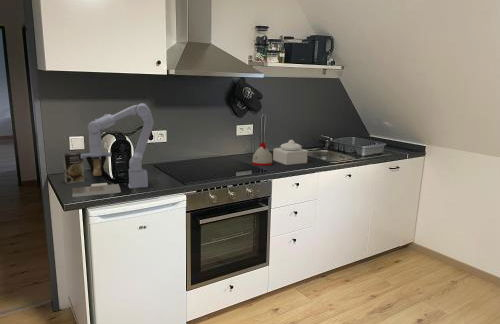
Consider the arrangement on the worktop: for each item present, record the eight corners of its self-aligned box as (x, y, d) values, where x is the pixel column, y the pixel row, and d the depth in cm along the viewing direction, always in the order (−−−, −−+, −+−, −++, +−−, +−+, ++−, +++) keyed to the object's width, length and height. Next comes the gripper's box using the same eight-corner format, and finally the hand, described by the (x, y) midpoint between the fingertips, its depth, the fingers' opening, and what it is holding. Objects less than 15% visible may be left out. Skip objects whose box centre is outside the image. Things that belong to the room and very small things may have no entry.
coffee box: (67, 184, 207) (64, 155, 204) (64, 182, 212) (62, 153, 209) (85, 182, 212) (82, 153, 209) (82, 179, 217) (80, 151, 214)
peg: (101, 173, 202) (100, 158, 200) (101, 175, 198) (100, 160, 197) (93, 174, 200) (92, 159, 199) (93, 176, 197) (92, 160, 195)
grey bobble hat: (257, 166, 257) (257, 144, 254) (249, 162, 270) (249, 141, 267) (275, 165, 263) (276, 143, 260) (266, 161, 275) (267, 140, 272)
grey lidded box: (273, 160, 278) (273, 138, 275) (294, 158, 286) (294, 137, 283) (286, 165, 263) (287, 142, 260) (307, 163, 271) (309, 140, 268)
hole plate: (118, 187, 204) (118, 183, 203) (120, 193, 194) (120, 189, 193) (72, 191, 195) (72, 187, 194) (72, 198, 185) (72, 193, 185)
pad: (107, 183, 210) (107, 182, 210) (108, 187, 203) (108, 186, 203) (91, 185, 207) (91, 184, 207) (91, 189, 200) (91, 188, 200)
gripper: (110, 143, 202) (111, 168, 205) (79, 144, 197) (81, 170, 200) (111, 145, 196) (112, 171, 199) (79, 146, 190) (81, 173, 193)
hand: (97, 171), depth 199 cm, fingers closed on peg, 4 cm apart
